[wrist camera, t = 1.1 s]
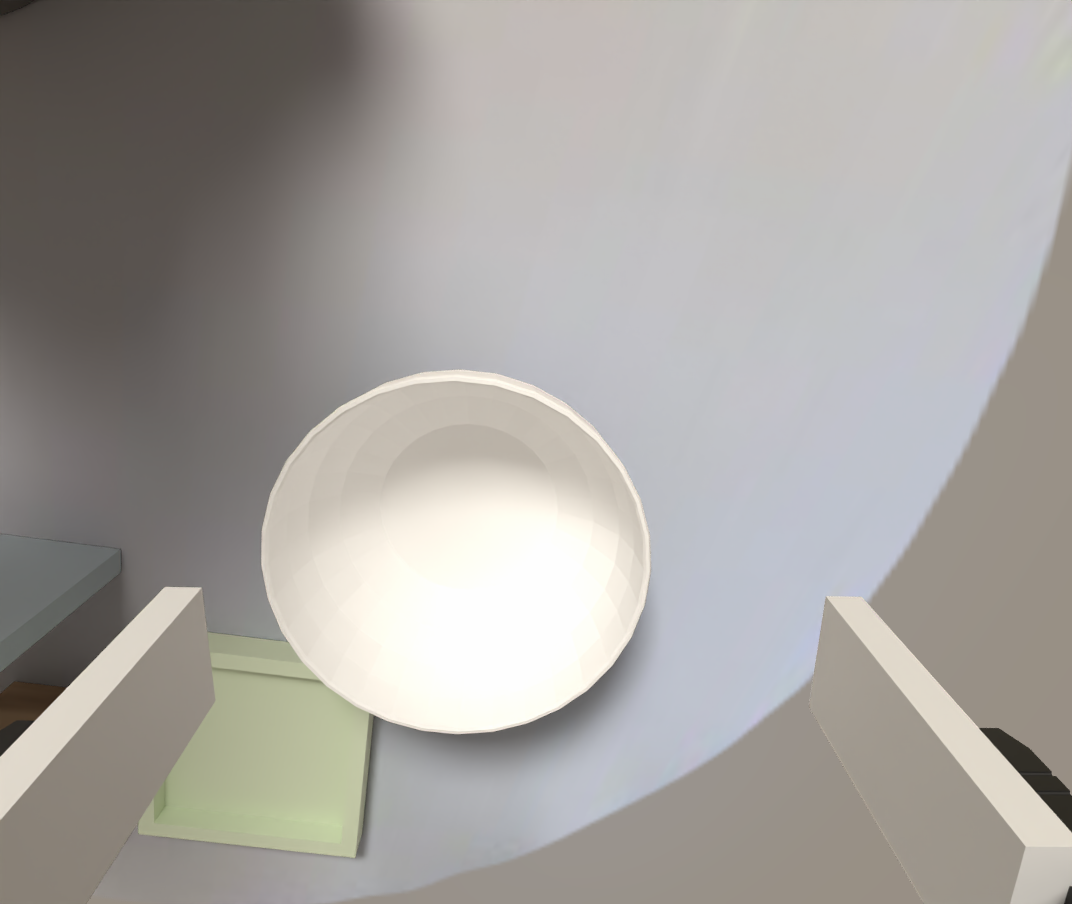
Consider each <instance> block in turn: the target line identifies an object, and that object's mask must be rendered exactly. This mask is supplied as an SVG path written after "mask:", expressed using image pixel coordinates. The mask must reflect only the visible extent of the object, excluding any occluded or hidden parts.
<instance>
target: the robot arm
mask: <svg viewBox="0 0 1072 904" xmlns="http://www.w3.org/2000/svg"><path fill="white" fill-rule="evenodd" d="M32 1H33V0H0V15H2V14H5V13H8V12H11V11H14V10H16V9H18V8H20V7H23V6H25V5H26V4H28V3H30V2H32ZM215 701H216V700H215V692H214V683H213V675H212V667H211V659H210V650H209V642H208V634H207V625H206V617H205V609H204V600H203V592H202V588H200V587H164V588H163V589H162V590H161V591H160V592H159V594H158V595H157V596H156V597H155V598H154V599H153V600H152V601H151V602H150V603H149V604H148V605H147V606H146V607H145V608H144V609H143V610H142V611H141V612H140V613H139V614H138V615H137V616H136V617H135V618H134V619H133V620H132V621H131V622H130V623H129V624H128V626H127V627H126V628H125V629H124V630H123V631H122V632H121V633H120V634H119V635H118V636H117V637H116V638H115V639H114V640H113V641H112V642H111V643H110V644H109V645H108V646H107V647H106V648H105V649H104V650H103V651H102V652H101V653H100V654H99V655H98V656H97V658H96V659H95V660H94V661H93V662H92V663H91V664H90V665H89V666H88V667H87V668H86V669H85V670H84V671H83V672H82V673H81V674H80V675H79V676H78V677H77V678H76V679H75V680H74V681H73V682H72V683H71V684H70V685H69V686H68V687H67V688H66V690H65V691H64V692H63V693H62V694H61V695H60V696H59V697H58V698H57V699H56V700H55V701H54V702H53V703H52V704H51V705H50V706H49V707H48V708H47V709H46V710H45V711H44V712H43V713H42V714H41V715H40V716H39V717H38V718H37V719H36V720H35V721H32V720H16V721H14V722H13V723H11V724H10V725H8V726H6V727H5V728H3V729H1V730H0V904H86V903H87V902H88V900H89V899H90V897H91V896H92V894H93V893H94V891H95V889H96V888H97V886H98V885H99V883H100V882H101V880H102V878H103V877H104V875H105V874H106V872H107V871H108V869H109V867H110V866H111V864H112V863H113V861H114V860H115V858H116V856H117V855H118V853H119V852H120V850H121V849H122V847H123V845H124V844H125V842H126V841H127V839H128V838H129V836H130V834H131V833H132V831H133V830H134V828H135V827H136V825H137V823H138V822H139V820H140V819H141V817H142V816H143V814H144V812H145V811H146V809H147V808H148V806H149V805H150V803H151V801H152V800H153V798H154V797H155V795H156V794H157V792H158V790H159V789H160V787H161V786H162V784H163V783H164V781H165V779H166V778H167V776H168V775H169V773H170V772H171V770H172V768H173V767H174V765H175V764H176V762H177V761H178V759H179V757H180V756H181V754H182V753H183V751H184V750H185V748H186V746H187V745H188V743H189V742H190V740H191V739H192V737H193V735H194V734H195V732H196V731H197V729H198V728H199V726H200V724H201V723H202V721H203V720H204V718H205V717H206V715H207V713H208V712H209V710H210V709H211V707H212V706H213V704H214V702H215ZM809 708H810V710H811V712H812V714H813V715H814V717H815V719H816V721H817V722H818V724H819V726H820V727H821V729H822V731H823V733H824V734H825V736H826V738H827V739H828V741H829V743H830V744H831V746H832V748H833V750H834V751H835V753H836V755H837V757H838V758H839V760H840V762H841V763H842V765H843V767H844V768H845V770H846V772H847V773H848V775H849V777H850V779H851V780H852V782H853V784H854V786H855V787H856V789H857V791H858V793H859V794H860V796H861V797H862V799H863V801H864V803H865V805H866V806H867V808H868V810H869V811H870V813H871V815H872V816H873V818H874V820H875V822H876V823H877V825H878V827H879V829H880V830H881V832H882V834H883V835H884V837H885V839H886V841H887V842H888V844H889V846H890V847H891V849H892V851H893V853H894V854H895V856H896V858H897V859H898V861H899V863H900V865H901V866H902V868H903V870H904V871H905V873H906V875H907V877H908V878H909V880H910V882H911V883H912V885H913V887H914V888H915V890H916V892H917V894H918V895H919V897H920V899H921V900H922V902H923V904H1072V796H1071V795H1070V791H1069V789H1068V788H1066V786H1065V785H1064V784H1063V783H1062V782H1061V781H1060V780H1059V779H1058V778H1057V777H1056V776H1052V774H1051V771H1050V770H1049V768H1047V766H1046V765H1045V764H1044V763H1043V762H1042V761H1041V760H1040V759H1039V758H1038V757H1037V756H1036V755H1035V754H1034V753H1033V752H1032V751H1031V750H1030V749H1029V748H1028V747H1026V746H1025V745H1023V744H1022V743H1020V742H1019V741H1017V740H1016V739H1014V738H1013V737H1011V736H1009V735H1008V734H1007V733H1005V732H1004V731H1002V730H1000V729H999V728H978V727H977V726H976V725H975V724H974V722H973V721H972V720H971V719H970V718H969V717H968V716H967V715H966V713H965V712H964V711H963V710H962V709H961V708H960V707H959V706H958V704H957V703H956V702H955V701H954V700H953V699H952V698H951V697H950V696H949V694H948V693H947V692H946V691H945V690H944V689H943V688H942V687H941V686H940V684H939V683H938V682H937V681H936V680H935V679H934V678H933V676H931V674H930V673H929V672H928V671H927V670H926V669H925V667H924V666H923V665H922V664H921V663H920V662H919V661H918V660H917V659H916V657H915V656H914V655H913V654H912V653H911V652H910V651H909V650H908V649H907V647H906V646H905V645H904V644H903V643H902V642H901V641H900V639H899V638H898V637H897V636H896V635H895V634H894V633H893V632H892V631H891V629H890V628H889V627H888V626H887V625H886V624H885V623H884V622H883V621H882V619H881V618H880V617H879V616H878V615H877V614H876V613H875V611H874V610H873V609H872V608H871V607H870V606H869V605H868V604H867V602H866V601H865V600H864V599H863V598H862V597H833V596H826V599H825V605H824V611H823V618H822V624H821V631H820V637H819V644H818V650H817V656H816V663H815V669H814V676H813V682H812V689H811V695H810V701H809Z"/></svg>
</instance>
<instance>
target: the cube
mask: <svg viewBox="0 0 1072 904" xmlns="http://www.w3.org/2000/svg"><path fill="white" fill-rule="evenodd" d="M66 688H67V687H58V686H50V685H41V684H33V683H25V682H16V681H15V682H13V683H12V684H11V685H10V686H9V687H8V688H6V689H5V690H4V691H3V692H2V693H1V694H0V730H1V729H3V728H5V727H6V726H8V725H10V724H11V723H13V722H14V721H16V720H32V721H35V720H36V719H37V718H38V717H39V716H40V715H41V714H42V713H43V712H44V711H45V710H46V709H47V708H48V707H49V706H50V705H51V704H52V703H53V702H54V701H55V700H56V699H57V698H58V697H59V696H60V695H61V694H62V693H63V692H64V691H65V690H66Z"/></svg>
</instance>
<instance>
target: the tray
mask: <svg viewBox="0 0 1072 904" xmlns="http://www.w3.org/2000/svg"><path fill="white" fill-rule="evenodd" d="M207 634H208V642H209V650H210V659H211V667H212V675H213V683H214V692H215V700H216V701H215V702H214V704H213V706H212V707H211V709H210V710H209V712H208V713H207V715H206V717H205V718H204V720H203V721H202V723H201V724H200V726H199V728H198V729H197V731H196V732H195V734H194V735H193V737H192V739H191V740H190V742H189V743H188V745H187V746H186V748H185V750H184V751H183V753H182V754H181V756H180V757H179V759H178V761H177V762H176V764H175V765H174V767H173V768H172V770H171V772H170V773H169V775H168V776H167V778H166V779H165V781H164V783H163V784H162V786H161V787H160V789H159V790H158V792H157V794H156V795H155V797H154V798H153V800H152V801H151V803H150V805H149V806H148V808H147V809H146V811H145V812H144V814H143V816H142V817H141V819H140V820H139V822H138V834H142V835H151V836H160V837H169V838H178V839H187V840H197V841H206V842H215V843H224V844H233V845H242V846H251V847H260V848H269V849H279V850H288V851H297V852H306V853H315V854H324V855H333V856H342V857H351V858H355V857H356V853H357V850H358V846H359V843H360V839H361V836H362V830H363V820H364V809H365V799H366V789H367V779H368V769H369V759H370V748H371V738H372V728H373V718H374V715H373V714H371V713H369V712H367V711H364V710H362V709H360V708H358V707H356V706H354V705H353V704H351V703H350V702H349V701H347V700H346V699H344V698H343V697H341V696H340V695H338V694H337V693H336V692H334V691H333V690H331V689H330V688H328V687H327V686H326V685H325V684H324V683H323V682H322V681H321V680H320V679H319V678H318V677H317V676H316V675H315V674H314V673H313V672H312V671H311V670H310V669H309V668H308V667H307V666H306V665H305V664H304V663H303V662H302V661H301V660H300V658H299V657H298V655H297V654H296V652H295V651H294V649H293V648H292V646H291V645H290V643H289V642H284V641H276V640H268V639H260V638H252V637H244V636H236V635H228V634H219V633H211V632H207Z"/></svg>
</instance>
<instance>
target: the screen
mask: <svg viewBox="0 0 1072 904" xmlns="http://www.w3.org/2000/svg"><path fill="white" fill-rule="evenodd" d="M120 572H121V549H115V548H108V547H100V546H92V545H84V544H76V543H68V542H61V541H53V540H45V539H37V538H29V537H21V536H14V535H6V534H0V672H1V671H2V670H3V669H5V668H6V667H7V666H8V665H9V664H11V663H12V662H13V661H14V660H15V659H17V658H18V657H19V656H20V655H21V654H23V653H24V652H25V651H26V650H28V649H29V648H30V647H31V646H32V645H34V644H35V643H36V642H37V641H38V640H40V639H41V638H42V637H43V636H44V635H46V634H47V633H48V632H49V631H50V630H52V629H53V628H54V627H55V626H56V625H58V624H59V623H60V622H61V621H62V620H64V619H65V618H66V617H67V616H68V615H70V614H71V613H72V612H73V611H74V610H76V609H77V608H78V607H79V606H80V605H82V604H83V603H84V602H85V601H87V600H88V599H89V598H90V597H91V596H93V595H94V594H95V593H96V592H97V591H99V590H100V589H101V588H102V587H103V586H105V585H106V584H107V583H108V582H109V581H111V580H112V579H113V578H114V577H115V576H117V575H118V574H119V573H120Z"/></svg>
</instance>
